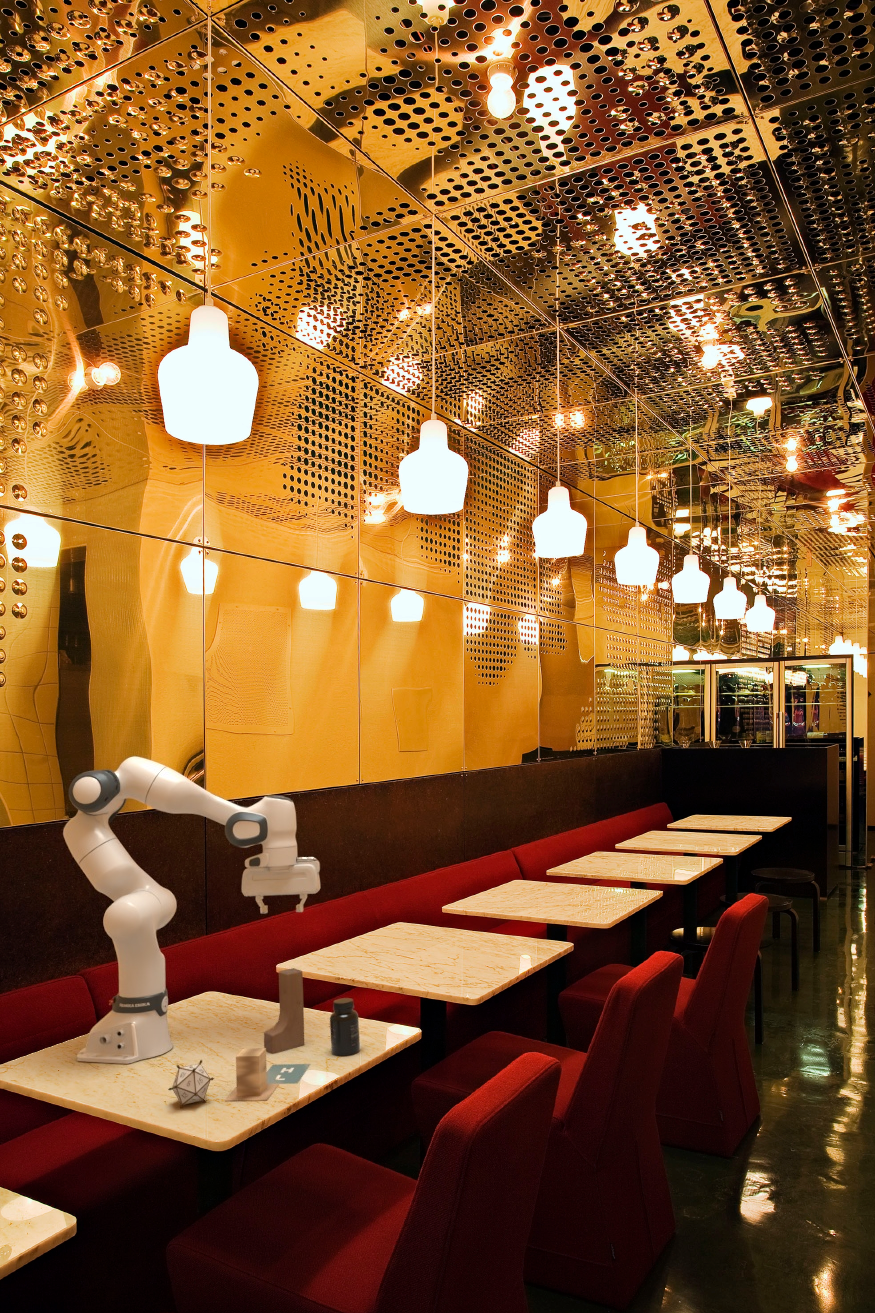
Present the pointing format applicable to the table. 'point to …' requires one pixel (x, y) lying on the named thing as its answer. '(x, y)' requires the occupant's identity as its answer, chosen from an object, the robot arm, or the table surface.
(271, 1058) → the table surface
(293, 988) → the wooden block
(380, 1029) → the table surface
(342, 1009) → the supplement bottle
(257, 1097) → the cork mat
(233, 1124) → the table surface
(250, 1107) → the table surface
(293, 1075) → the tile
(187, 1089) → the game die
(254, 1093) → the oak block
